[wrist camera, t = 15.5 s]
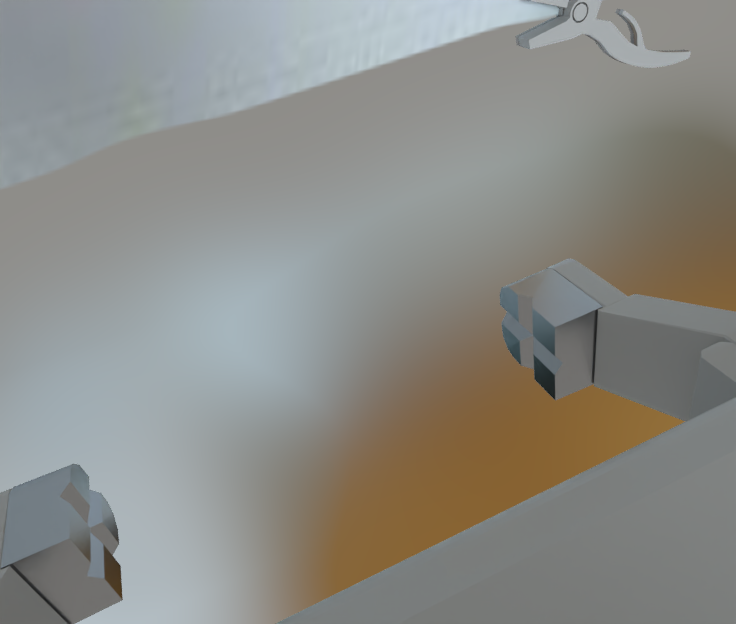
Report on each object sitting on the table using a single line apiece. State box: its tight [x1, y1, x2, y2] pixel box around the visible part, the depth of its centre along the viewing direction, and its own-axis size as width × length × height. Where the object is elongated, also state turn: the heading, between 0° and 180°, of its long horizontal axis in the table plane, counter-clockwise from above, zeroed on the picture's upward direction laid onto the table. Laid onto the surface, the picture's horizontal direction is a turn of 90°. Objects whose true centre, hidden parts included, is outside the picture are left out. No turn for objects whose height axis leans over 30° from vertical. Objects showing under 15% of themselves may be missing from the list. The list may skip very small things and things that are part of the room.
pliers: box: [515, 0, 691, 68], centre depth 42 cm, size 10×2×15 cm
